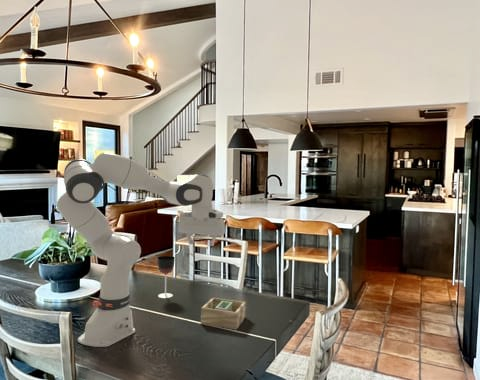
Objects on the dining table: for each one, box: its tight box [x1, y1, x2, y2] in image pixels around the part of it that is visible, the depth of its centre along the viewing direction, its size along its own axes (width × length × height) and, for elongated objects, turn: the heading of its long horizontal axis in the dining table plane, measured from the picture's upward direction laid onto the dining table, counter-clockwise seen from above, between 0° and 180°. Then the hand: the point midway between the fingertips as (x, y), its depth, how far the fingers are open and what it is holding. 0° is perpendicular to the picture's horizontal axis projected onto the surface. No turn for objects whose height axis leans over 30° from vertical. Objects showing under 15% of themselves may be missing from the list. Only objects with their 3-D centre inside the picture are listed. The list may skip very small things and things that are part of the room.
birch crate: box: [200, 297, 247, 330], centre depth 164 cm, size 14×16×7 cm
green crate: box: [215, 301, 233, 311], centre depth 164 cm, size 9×5×6 cm, turn 164°
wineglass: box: [157, 255, 175, 299], centre depth 194 cm, size 8×9×20 cm
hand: (201, 244), depth 159 cm, fingers open, 8 cm apart
